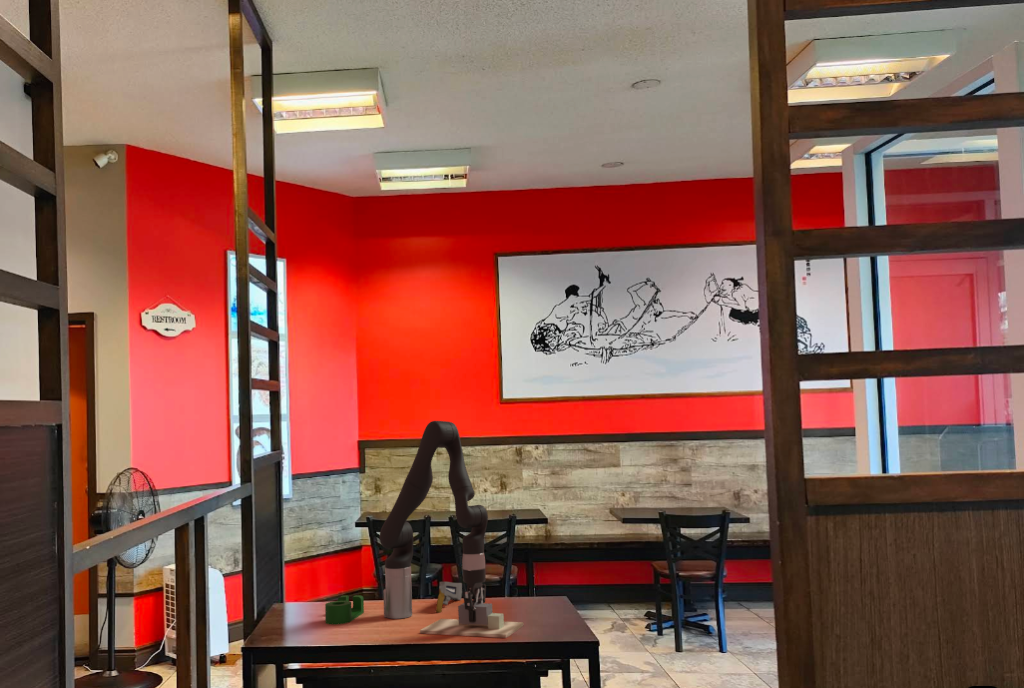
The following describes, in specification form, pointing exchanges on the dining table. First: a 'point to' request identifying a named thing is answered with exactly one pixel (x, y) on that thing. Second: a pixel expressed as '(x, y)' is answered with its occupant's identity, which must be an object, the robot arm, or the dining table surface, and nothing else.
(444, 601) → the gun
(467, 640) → the dining table surface
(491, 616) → the wood offcut
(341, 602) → the green bracket
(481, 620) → the block
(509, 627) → the plywood board
